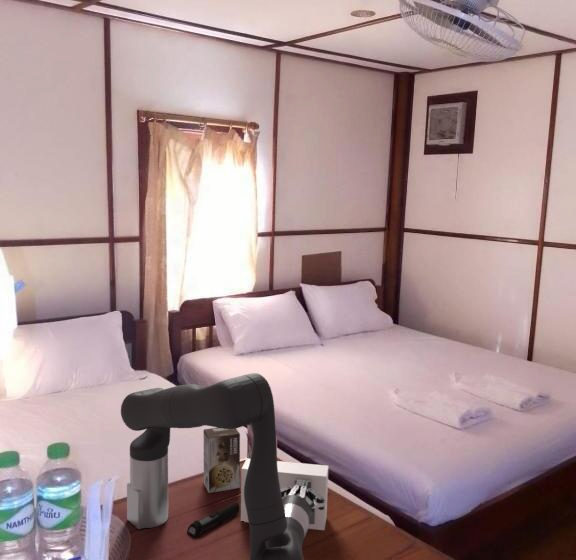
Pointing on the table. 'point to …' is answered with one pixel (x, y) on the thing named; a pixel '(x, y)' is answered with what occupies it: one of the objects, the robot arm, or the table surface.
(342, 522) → the table surface
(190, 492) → the table surface
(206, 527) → the electric trimmer
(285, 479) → the white switch box
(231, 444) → the coffee box
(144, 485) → the robot arm
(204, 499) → the table surface
